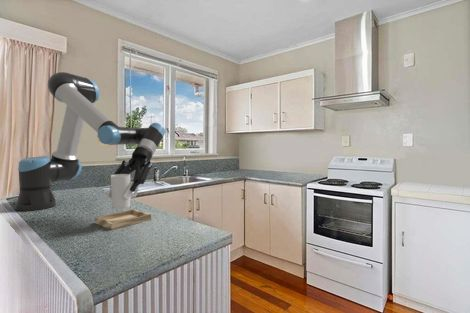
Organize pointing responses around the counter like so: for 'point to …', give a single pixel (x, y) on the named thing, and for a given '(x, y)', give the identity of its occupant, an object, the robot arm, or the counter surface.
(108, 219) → the keeper tray
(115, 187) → the mug
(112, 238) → the counter surface
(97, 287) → the counter surface
